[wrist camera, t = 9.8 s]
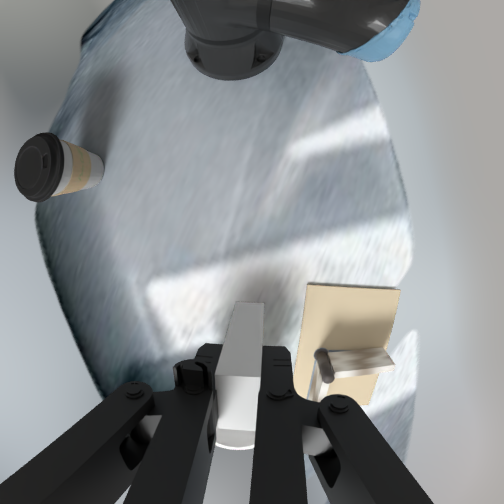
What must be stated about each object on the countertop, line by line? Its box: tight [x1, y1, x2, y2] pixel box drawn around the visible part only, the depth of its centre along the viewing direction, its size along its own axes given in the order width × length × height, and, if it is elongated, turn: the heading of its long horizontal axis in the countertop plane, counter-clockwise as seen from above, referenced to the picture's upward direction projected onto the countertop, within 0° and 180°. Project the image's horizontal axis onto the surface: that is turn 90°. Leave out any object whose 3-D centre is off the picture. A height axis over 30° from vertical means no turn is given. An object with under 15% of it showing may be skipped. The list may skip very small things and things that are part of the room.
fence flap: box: [316, 347, 395, 384], centre depth 41 cm, size 12×2×7 cm, turn 92°
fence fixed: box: [308, 349, 330, 402], centre depth 43 cm, size 14×2×7 cm, turn 176°
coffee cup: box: [14, 133, 104, 202], centre depth 35 cm, size 9×9×15 cm
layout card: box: [293, 284, 401, 405], centre depth 45 cm, size 24×16×1 cm, turn 176°
